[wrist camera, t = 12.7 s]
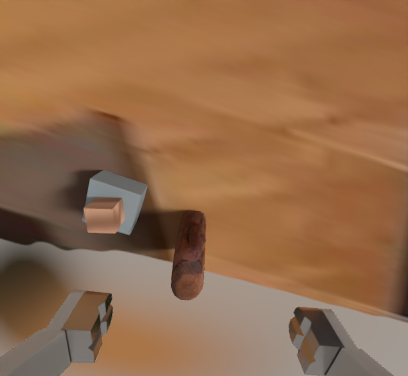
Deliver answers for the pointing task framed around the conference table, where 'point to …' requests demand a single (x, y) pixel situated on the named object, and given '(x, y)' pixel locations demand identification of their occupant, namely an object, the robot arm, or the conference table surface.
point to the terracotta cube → (104, 215)
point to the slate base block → (118, 195)
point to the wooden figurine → (189, 257)
